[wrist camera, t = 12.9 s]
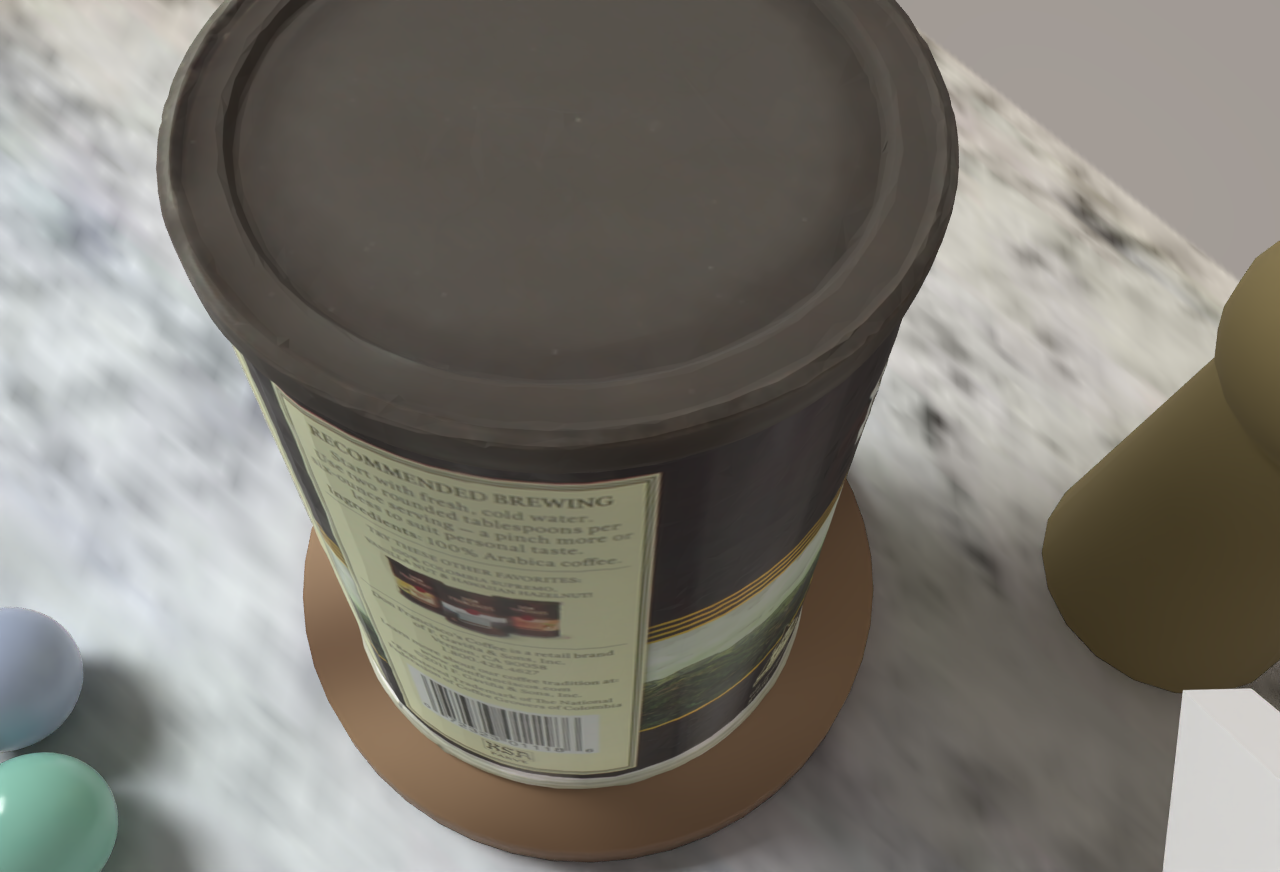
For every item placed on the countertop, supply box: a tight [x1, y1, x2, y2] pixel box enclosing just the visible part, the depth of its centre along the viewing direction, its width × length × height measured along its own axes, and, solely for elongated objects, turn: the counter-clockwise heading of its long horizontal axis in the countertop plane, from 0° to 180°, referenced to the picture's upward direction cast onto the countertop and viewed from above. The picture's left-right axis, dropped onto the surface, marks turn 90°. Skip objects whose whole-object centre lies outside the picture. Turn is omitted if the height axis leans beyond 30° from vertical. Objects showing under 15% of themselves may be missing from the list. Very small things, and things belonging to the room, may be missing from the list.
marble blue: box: [0, 607, 83, 752], centre depth 26 cm, size 3×3×3 cm
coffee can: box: [156, 0, 959, 789], centre depth 22 cm, size 10×10×14 cm
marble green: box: [0, 752, 118, 872], centre depth 24 cm, size 3×3×3 cm
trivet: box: [303, 479, 873, 862], centre depth 28 cm, size 13×13×1 cm
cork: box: [1042, 241, 1280, 693], centre depth 24 cm, size 6×6×11 cm
